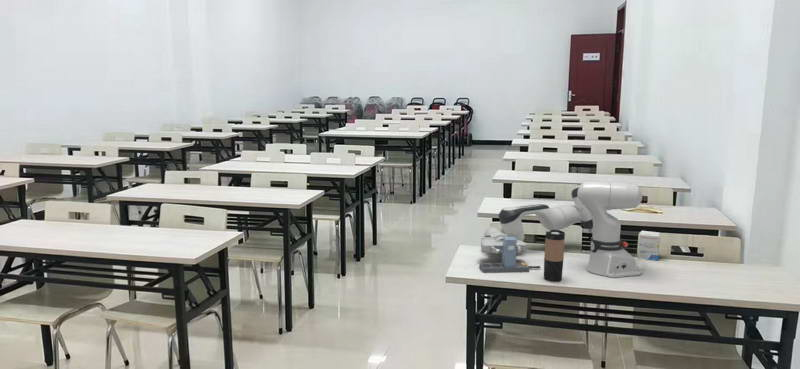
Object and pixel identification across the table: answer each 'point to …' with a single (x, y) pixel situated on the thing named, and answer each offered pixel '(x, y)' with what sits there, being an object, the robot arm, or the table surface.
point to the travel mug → (554, 255)
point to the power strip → (504, 268)
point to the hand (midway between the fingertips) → (508, 251)
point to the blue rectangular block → (509, 252)
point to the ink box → (649, 245)
